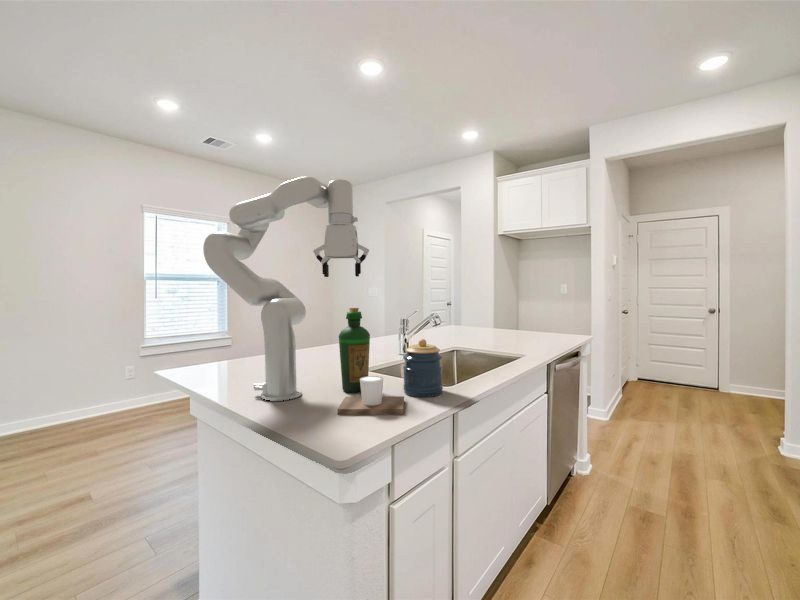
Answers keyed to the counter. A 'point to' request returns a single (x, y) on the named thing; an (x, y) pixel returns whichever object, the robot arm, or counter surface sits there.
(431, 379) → the canister
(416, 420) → the counter surface
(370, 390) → the shot glass
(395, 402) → the walnut board
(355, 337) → the bottle
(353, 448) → the counter surface
